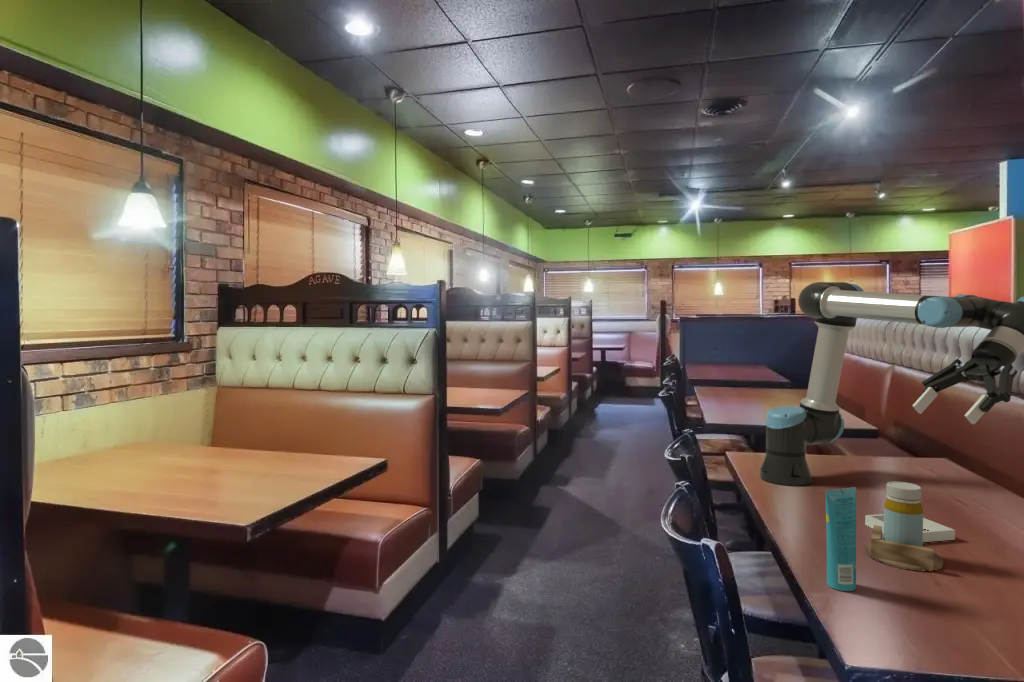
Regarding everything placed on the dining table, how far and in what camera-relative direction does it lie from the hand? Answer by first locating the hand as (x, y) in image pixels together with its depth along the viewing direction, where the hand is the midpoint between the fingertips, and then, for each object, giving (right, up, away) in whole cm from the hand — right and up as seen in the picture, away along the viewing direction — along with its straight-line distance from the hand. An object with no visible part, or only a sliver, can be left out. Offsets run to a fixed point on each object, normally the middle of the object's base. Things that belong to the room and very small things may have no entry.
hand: (941, 414), depth 132 cm
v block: (-16, -30, -10) cm, 35 cm away
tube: (-37, -31, -22) cm, 53 cm away
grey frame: (-5, -29, +5) cm, 30 cm away
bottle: (-16, -29, -9) cm, 35 cm away
